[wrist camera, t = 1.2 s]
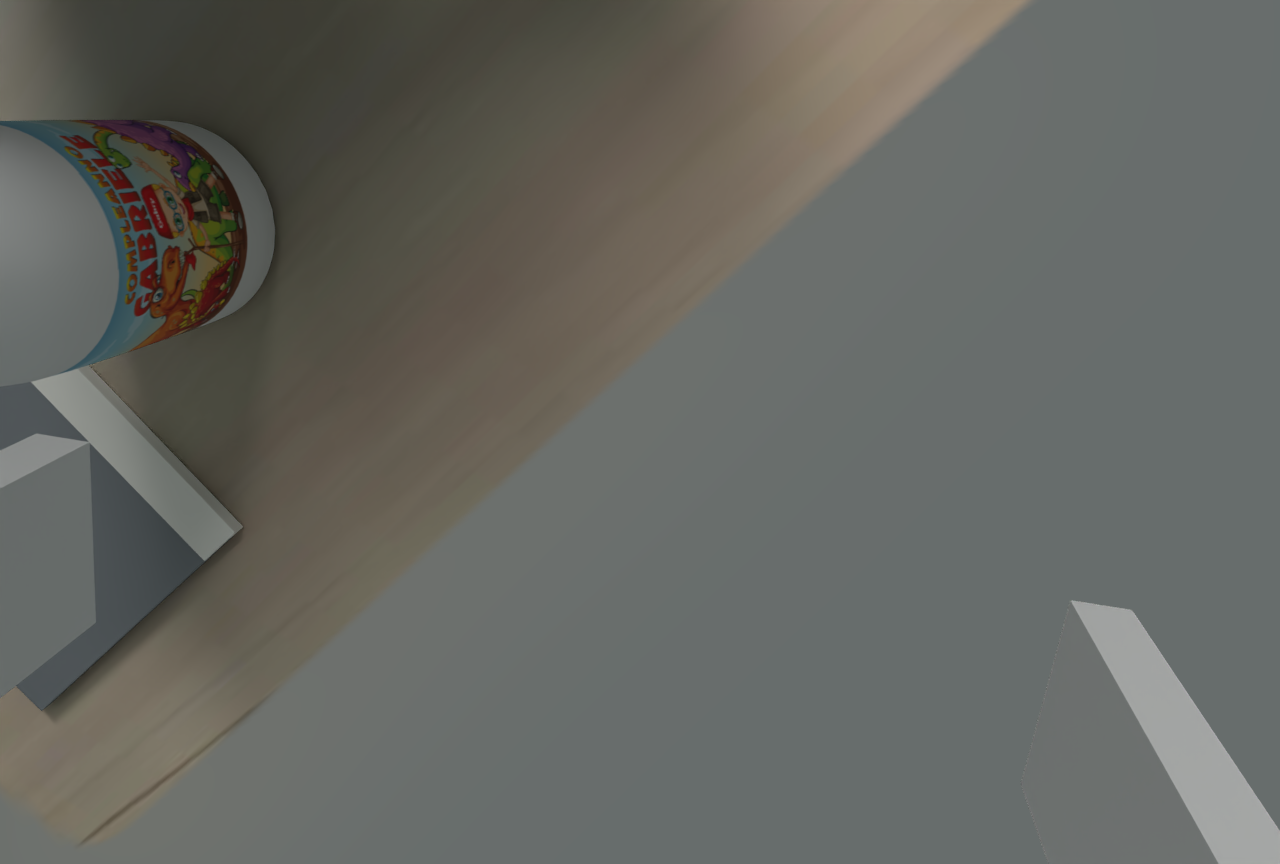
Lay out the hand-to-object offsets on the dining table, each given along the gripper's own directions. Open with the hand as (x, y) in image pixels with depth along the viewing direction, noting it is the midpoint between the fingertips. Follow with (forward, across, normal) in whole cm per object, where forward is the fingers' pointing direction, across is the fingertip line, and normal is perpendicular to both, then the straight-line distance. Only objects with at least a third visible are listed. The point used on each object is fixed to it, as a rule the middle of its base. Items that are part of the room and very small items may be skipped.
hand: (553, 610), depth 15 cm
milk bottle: (+28, -20, -1) cm, 34 cm away
